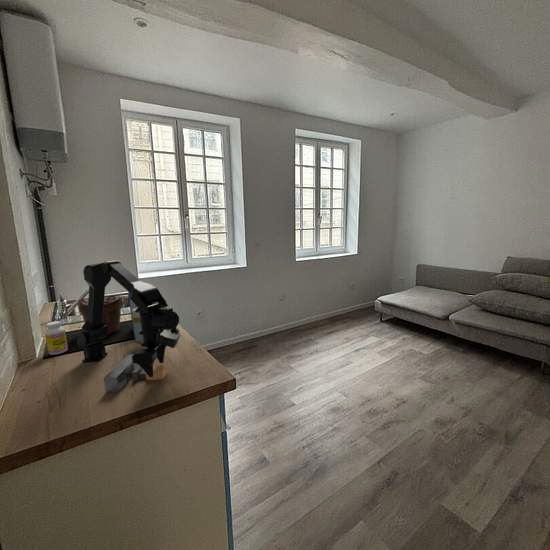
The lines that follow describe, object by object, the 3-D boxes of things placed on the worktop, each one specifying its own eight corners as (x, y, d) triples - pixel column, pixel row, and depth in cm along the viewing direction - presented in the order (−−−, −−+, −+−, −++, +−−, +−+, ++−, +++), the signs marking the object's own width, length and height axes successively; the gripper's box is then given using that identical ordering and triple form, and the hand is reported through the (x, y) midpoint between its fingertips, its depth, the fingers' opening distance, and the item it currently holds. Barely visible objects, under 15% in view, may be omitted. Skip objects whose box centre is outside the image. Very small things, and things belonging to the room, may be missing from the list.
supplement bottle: (53, 356, 116) (46, 326, 114) (46, 353, 119) (40, 324, 117) (71, 350, 121) (66, 321, 119) (64, 347, 125) (58, 319, 123)
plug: (132, 380, 95) (131, 372, 94) (138, 374, 98) (137, 366, 98) (163, 379, 95) (162, 370, 94) (167, 373, 99) (166, 364, 98)
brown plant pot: (135, 326, 147) (129, 292, 143) (94, 341, 130) (86, 303, 127) (116, 322, 156) (111, 290, 153) (76, 335, 140) (68, 300, 137)
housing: (105, 392, 89) (103, 378, 88) (130, 366, 104) (128, 354, 103) (118, 391, 89) (116, 377, 88) (141, 366, 104) (139, 353, 104)
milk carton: (134, 327, 146) (129, 289, 142) (147, 325, 148) (142, 287, 145) (133, 334, 137) (127, 293, 133) (147, 331, 139) (142, 291, 136)
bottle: (132, 343, 126) (127, 310, 123) (144, 337, 132) (140, 305, 130) (144, 344, 123) (139, 311, 121) (156, 338, 130) (152, 307, 127)
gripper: (165, 335, 84) (171, 383, 87) (183, 315, 103) (188, 355, 106) (127, 337, 84) (134, 385, 87) (152, 316, 103) (157, 357, 105)
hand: (156, 369), depth 96 cm, fingers open, 9 cm apart
